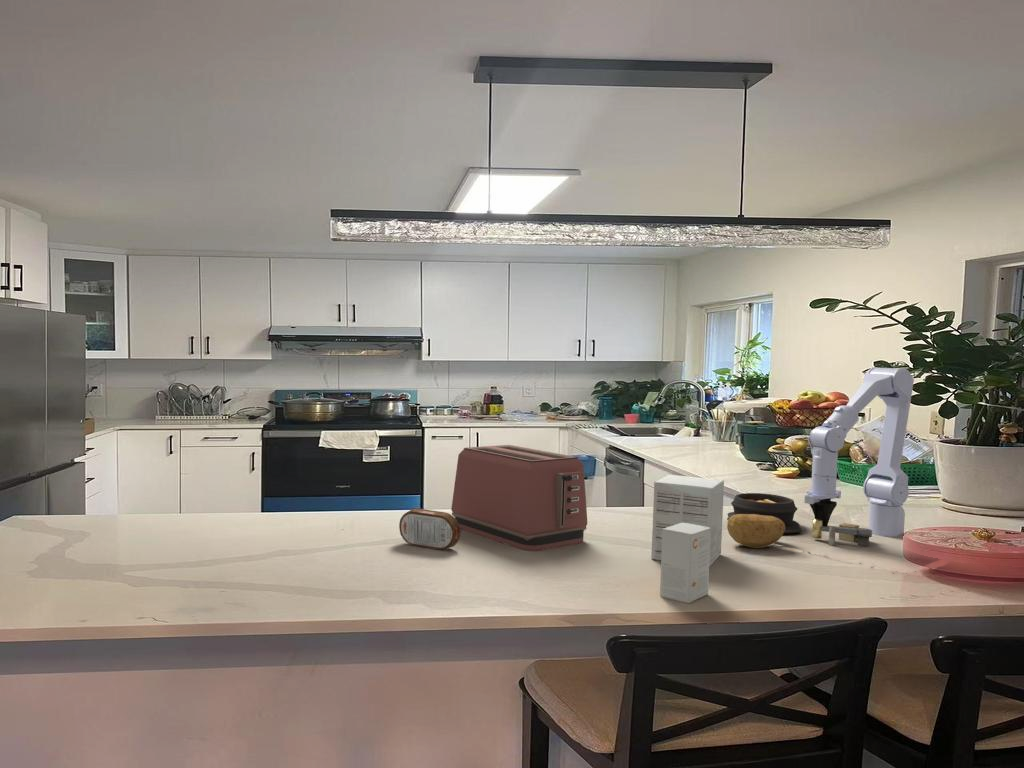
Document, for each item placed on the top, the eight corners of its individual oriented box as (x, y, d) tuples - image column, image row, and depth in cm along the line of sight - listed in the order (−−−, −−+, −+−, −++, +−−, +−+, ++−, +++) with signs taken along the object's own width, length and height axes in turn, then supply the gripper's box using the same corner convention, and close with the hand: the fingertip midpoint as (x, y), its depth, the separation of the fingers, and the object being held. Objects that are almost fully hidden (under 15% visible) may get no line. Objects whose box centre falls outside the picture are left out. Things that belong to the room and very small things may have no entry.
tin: (460, 550, 179) (461, 513, 178) (453, 553, 176) (454, 515, 175) (404, 541, 185) (405, 505, 185) (396, 544, 182) (397, 508, 182)
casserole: (819, 540, 200) (821, 507, 200) (750, 540, 197) (751, 507, 197) (773, 519, 225) (775, 489, 224) (711, 518, 222) (712, 489, 222)
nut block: (843, 536, 199) (844, 522, 199) (858, 539, 197) (859, 525, 197) (838, 539, 197) (839, 524, 196) (853, 541, 194) (854, 527, 194)
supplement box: (665, 547, 188) (668, 473, 187) (721, 554, 182) (725, 479, 181) (649, 559, 176) (652, 481, 175) (709, 568, 170) (712, 487, 169)
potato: (792, 552, 186) (793, 519, 186) (734, 551, 185) (735, 518, 185) (775, 542, 196) (776, 510, 195) (719, 541, 195) (721, 509, 194)
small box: (679, 587, 155) (681, 521, 155) (709, 594, 151) (711, 527, 151) (658, 596, 149) (661, 528, 149) (689, 604, 145) (692, 533, 144)
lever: (813, 533, 200) (813, 515, 200) (870, 539, 195) (871, 521, 195) (811, 538, 194) (812, 520, 193) (871, 545, 188) (872, 527, 188)
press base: (825, 534, 206) (826, 513, 206) (902, 550, 192) (903, 527, 191) (794, 542, 196) (795, 521, 195) (873, 560, 181) (874, 536, 181)
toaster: (534, 554, 177) (537, 464, 176) (448, 525, 203) (450, 446, 202) (595, 543, 189) (598, 459, 188) (506, 517, 215) (508, 443, 214)
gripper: (823, 470, 203) (820, 522, 204) (794, 475, 194) (791, 530, 194) (850, 474, 198) (847, 528, 199) (821, 479, 189) (818, 535, 189)
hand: (821, 529), depth 196 cm, fingers closed
